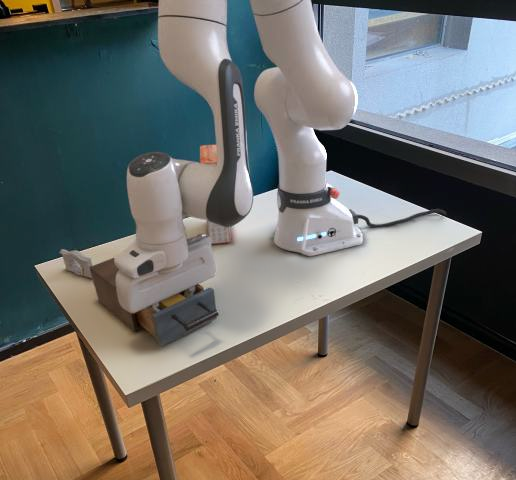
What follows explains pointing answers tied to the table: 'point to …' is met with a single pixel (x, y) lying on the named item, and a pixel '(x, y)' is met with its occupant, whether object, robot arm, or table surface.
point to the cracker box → (214, 230)
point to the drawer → (179, 316)
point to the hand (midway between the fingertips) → (174, 311)
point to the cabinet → (111, 292)
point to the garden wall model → (82, 261)
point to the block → (171, 300)
